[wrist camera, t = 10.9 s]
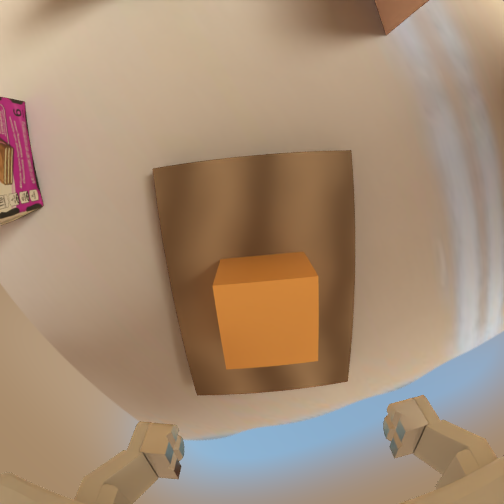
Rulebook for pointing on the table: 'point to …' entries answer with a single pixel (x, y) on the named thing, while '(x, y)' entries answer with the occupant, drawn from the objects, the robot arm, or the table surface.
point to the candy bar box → (16, 164)
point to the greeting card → (396, 11)
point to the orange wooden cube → (267, 310)
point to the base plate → (259, 254)
